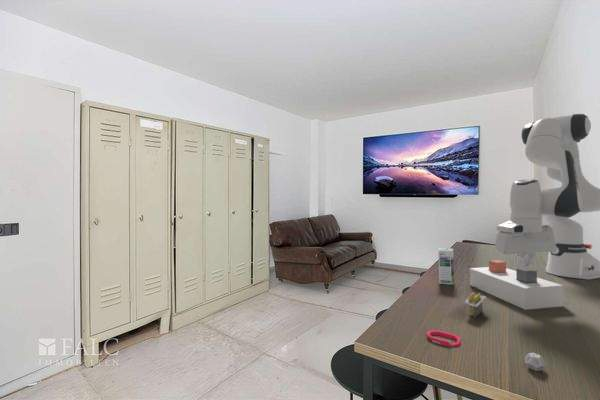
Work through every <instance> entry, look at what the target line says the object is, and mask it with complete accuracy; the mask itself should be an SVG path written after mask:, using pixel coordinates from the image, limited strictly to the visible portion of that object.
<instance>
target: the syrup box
mask: <svg viewBox="0 0 600 400" xmlns="http://www.w3.org/2000/svg"><path fill="white" fill-rule="evenodd" d="M454 252H455V251H454V248H444V247H439V248H438V273H439V274H438V279H439V280H438V281H439V282H438V283H439V284H440V285H452V286H455V264H454V263H455V260H454V259H455V258H454V256H455V255H454Z"/></svg>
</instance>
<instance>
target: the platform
mask: <svg viewBox="0 0 600 400" xmlns="http://www.w3.org/2000/svg"><path fill="white" fill-rule="evenodd" d="M475 294H476V293H475V291H474V292H472V293H471V294H470V295H468V297H467V298H466V299H465V300H464V304H466V305H468V306H469V307H468V308H469V316H472V317H473V319H476V318H477V317H478V316H479V314H481V313H482V312H483V303H484V301H486V299H487V296H486V295H481V293H480V292H479V293H478V294H477V295H475Z"/></svg>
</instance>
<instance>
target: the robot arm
mask: <svg viewBox="0 0 600 400" xmlns="http://www.w3.org/2000/svg"><path fill="white" fill-rule="evenodd" d="M591 129H592V123H591V120H590V119H589V117H588V115H585V114H584V113H573V114H570V115H560V116H556V117H555V116H554V117H543V118H542V119H539V120H537V121H535V122H530V123H527V124H525V126H524V127H523V128H522V131H521V136H520V137H521V140H522V143H523V144H524V145H525V150H524V151H525V156H526V159H527V160H529V162H531V163H532V164H535V165H537V166H539V167H543V168H544V167H545V168H546V174H547V176H548V177H549V178H550V179H552V180H554V181H557V182H559V183H561V186H560V187H546V188H541V184H540V180H537V179H532V178H531V179H529V178H528V179H520V180H515V181H514V182H512V183H511V187H510V193H509V207H510V209H511V211H510V214H509V215H510V216H509V220H507V221H505V222H503V223H500V224H498V225H497V226H496V231H497V233H496V237H495V238H496V239H495V249H496V251H497V253H499V254H502V255H517V257H518V259H519V260H520V261H519V262H520V266H522V267H529V266H533V261H534V259H535V258H536V253H548V255H547V265H546V266H545V272H546V273H548V274H551V275H554V276H558V277H559V276H560V277H564V278H575V279H580V280H581V279H582V280H594V279H600V259H598V258H596V257H594V256H593V255H592V254H591V253H589V252H588V250H591V249H592V248H593V245H592V244H589V243H584V228H583V226H582V224H581V223H579V222H578V221H576V220H573V219H571V217H573V216H575V215H577V214H579V213H591V212H600V188H599V187H597V186H595V185H593V184H592V183H591V182H589V181H588V180H587V179H586V177H585V176H584V174H583V172H582V167H581V160H580V152H579V151H580V150H579V146H578V143H580V142H581V140H584V139H586V138H587V137H588V136H589V133H590V132H591ZM543 217H544V218H545V219H546V222H547V224H545V225H544V224H543ZM587 249H588V250H587Z"/></svg>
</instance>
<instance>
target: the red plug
mask: <svg viewBox="0 0 600 400" xmlns="http://www.w3.org/2000/svg"><path fill="white" fill-rule="evenodd" d="M488 267H489V271H491V272H494V273H506V268H507V261H504V260H500V259H490V260H488Z"/></svg>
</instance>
